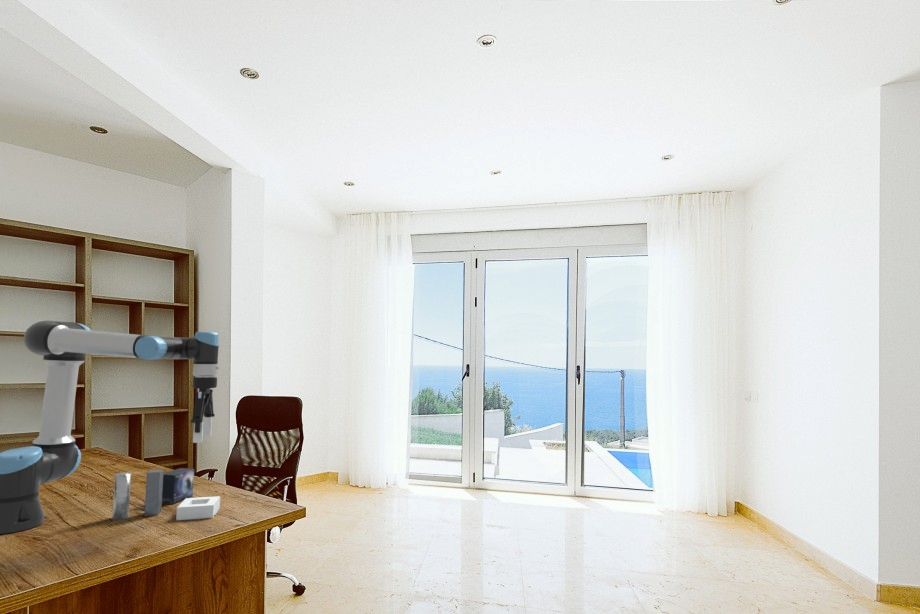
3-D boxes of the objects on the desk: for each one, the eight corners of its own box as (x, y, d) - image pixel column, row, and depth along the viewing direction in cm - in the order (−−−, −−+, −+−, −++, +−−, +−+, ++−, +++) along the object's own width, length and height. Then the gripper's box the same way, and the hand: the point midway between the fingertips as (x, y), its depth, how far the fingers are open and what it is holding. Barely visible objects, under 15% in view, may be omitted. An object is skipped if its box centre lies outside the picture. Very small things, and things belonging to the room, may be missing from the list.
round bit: (110, 520, 167) (113, 475, 168) (115, 516, 171) (118, 472, 172) (125, 519, 168) (128, 475, 169) (130, 515, 172) (133, 472, 173)
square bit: (144, 515, 171) (146, 472, 173) (148, 512, 175) (150, 470, 176) (157, 515, 172) (159, 472, 174) (161, 511, 176) (163, 469, 177)
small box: (173, 504, 184) (174, 474, 185) (157, 503, 185) (159, 473, 186) (193, 496, 194) (195, 468, 195) (178, 495, 196) (180, 467, 197)
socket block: (176, 520, 167) (176, 507, 167) (185, 510, 178) (185, 498, 178) (213, 517, 170) (213, 505, 170) (219, 507, 180) (220, 496, 181)
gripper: (209, 378, 167) (206, 444, 165) (223, 374, 191) (221, 433, 189) (183, 378, 165) (180, 445, 163) (201, 375, 189) (199, 434, 187)
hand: (202, 439), depth 176 cm, fingers open, 13 cm apart
